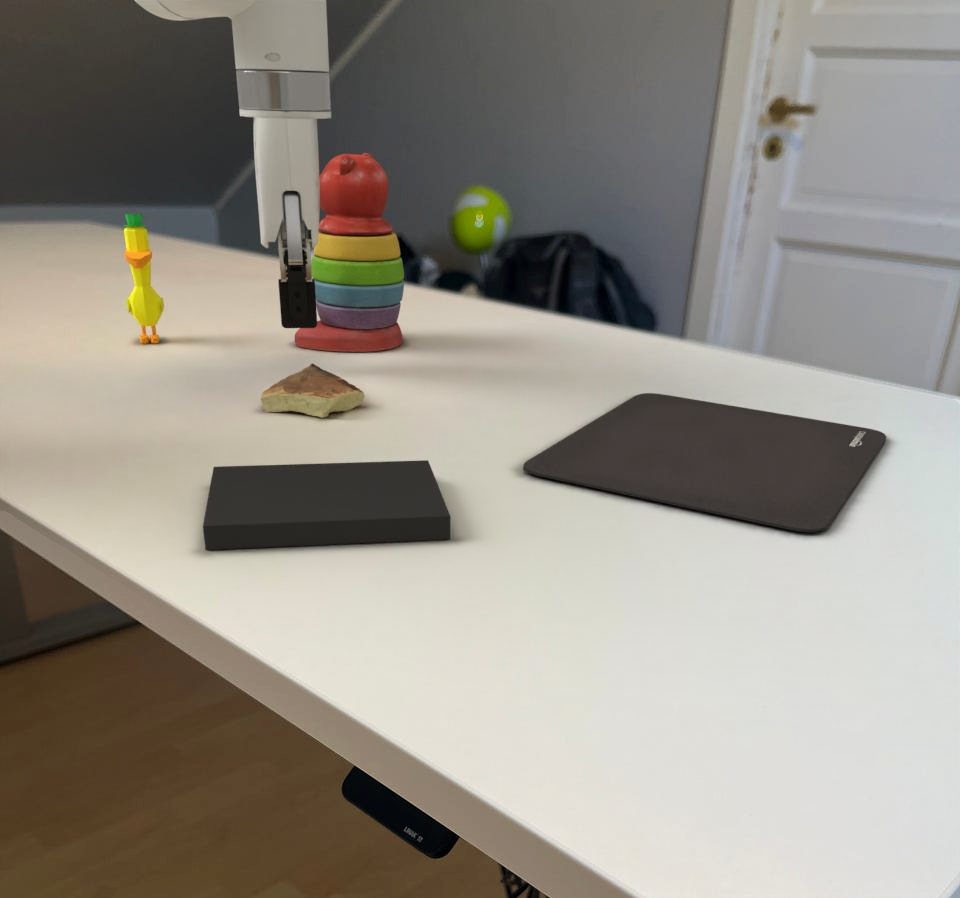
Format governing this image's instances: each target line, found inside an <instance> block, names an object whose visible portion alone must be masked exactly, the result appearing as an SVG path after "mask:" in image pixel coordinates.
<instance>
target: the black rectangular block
mask: <svg viewBox="0 0 960 898" xmlns="http://www.w3.org/2000/svg"><path fill="white" fill-rule="evenodd" d="M202 530H203V531H202V532H203V540H204V548H205V550H206V551H213V550H236V549H238V550H239V549H256V548H257V549H261V548H281V547H283V548H284V547H304V546H307V547H308V546H327V545H329V546H331V545H349V544H351V545H352V544H370V543H371V544H372V543H395V542H396V543H397V542H417V541H419V542H420V541H439V540H441V541H442V540H451V515H450V512H449V509H448V507H447V504H446V502H445V499H444V496H443V494H442V491H441V489H440V486H439V484H438V482H437V479H436V477H435V475H434V472H433V468H432V467H431V464H430V462H429V460H428V459H427V460H423V459H422V460H396V461H395V460H394V461H393V460H392V461H366V462H365V461H359V462H329V463H328V462H327V463H326V462H325V463H323V462H322V463H297V464H296V463H293V464H292V463H291V464H289V463H288V464H261V465H259V464H257V465H224V466H213V468H212V474H211V479H210V483H209V490H208V497H207V501H206V507H205V513H204V518H203V524H202Z"/></svg>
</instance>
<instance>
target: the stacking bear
mask: <svg viewBox="0 0 960 898" xmlns="http://www.w3.org/2000/svg"><path fill="white" fill-rule="evenodd" d="M319 180H320V209H321V210H322V211H323V212H324V213H325V214H326V215H325V217H324V218H322V219H321V221H319V235H318V244H317V245H316V246H315V247H314V248H313V256H311V268H312V279H314V280H315V293H316V311H317V316H318V317H319V320H317V326H316V327H315V328H298V329H297V330H296V332H295V334H294V343H295V344H296V346H298V347H300V348H304V349H310V350H318V351H327V352H343V353H344V352H347V353H348V352H349V353H350V352H351V353H364V352H365V353H366V352H379V351H387V350H391V349H394V348H396V347H398V346H400V345H402V343H403V341H404V338H403V337H404V335H403V332H402V329H401V327H400V324H399V323H398V319H399V315H400V311H401V302H402V300H403V298H404V297H403V296H404V291H405V290H404V289H405V281H404V278H405V270H404V263H403V259H402V257H401V248H400V242H399V239H398V236H397V234H396V233H395V232H393V227H392V225H391V224H390V222H388V220H387V219H385V218H384V217H383V213H384V212H385V209H386V205H387V202H388V197H389V180H388V177H387V173H386V172H385V170H384V168H383V167H382V166H381V164H380V163H379V162H377V160H375V159H374V157H373V156H372V155H371V154H369V153H368V152H363V153H362V154H351V153H343V154H339V155H336V156H335V157H333V158H332V159H330V160H329V161H328V162H327V164H326V165H325V167H324V168H323V170H322V172H321V173H319Z"/></svg>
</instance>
